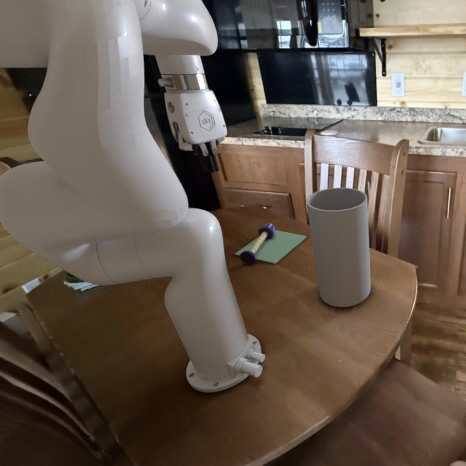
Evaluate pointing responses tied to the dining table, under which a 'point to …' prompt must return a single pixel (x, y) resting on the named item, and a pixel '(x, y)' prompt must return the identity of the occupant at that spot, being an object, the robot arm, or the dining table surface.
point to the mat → (275, 246)
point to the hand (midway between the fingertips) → (211, 171)
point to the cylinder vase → (340, 245)
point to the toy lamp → (258, 243)
